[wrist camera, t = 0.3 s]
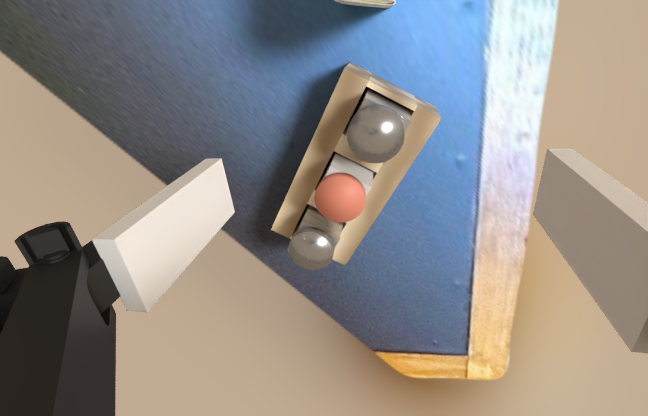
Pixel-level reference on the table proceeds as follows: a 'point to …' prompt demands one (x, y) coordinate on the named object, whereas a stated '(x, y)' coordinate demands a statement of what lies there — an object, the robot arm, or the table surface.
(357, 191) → the plug red
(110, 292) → the robot arm
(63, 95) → the table surface
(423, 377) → the table surface
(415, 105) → the housing
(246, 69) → the table surface
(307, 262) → the plug
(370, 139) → the plug
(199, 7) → the table surface
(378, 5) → the ink box
